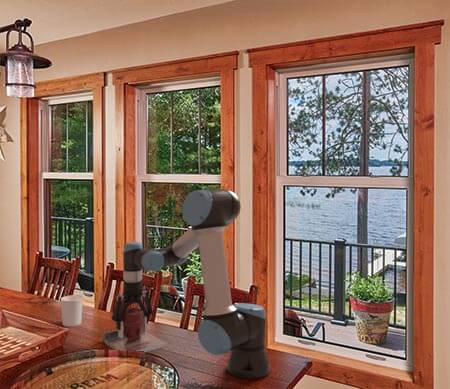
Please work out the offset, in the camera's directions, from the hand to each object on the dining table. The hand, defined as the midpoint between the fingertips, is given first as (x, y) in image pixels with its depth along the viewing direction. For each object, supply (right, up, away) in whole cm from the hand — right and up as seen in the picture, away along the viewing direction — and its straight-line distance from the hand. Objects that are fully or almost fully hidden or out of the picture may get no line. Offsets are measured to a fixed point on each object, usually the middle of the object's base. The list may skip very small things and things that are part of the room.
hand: (132, 334), depth 181 cm
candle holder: (-33, -3, +23) cm, 40 cm away
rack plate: (+1, -4, -1) cm, 4 cm away
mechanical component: (0, -2, 0) cm, 2 cm away
